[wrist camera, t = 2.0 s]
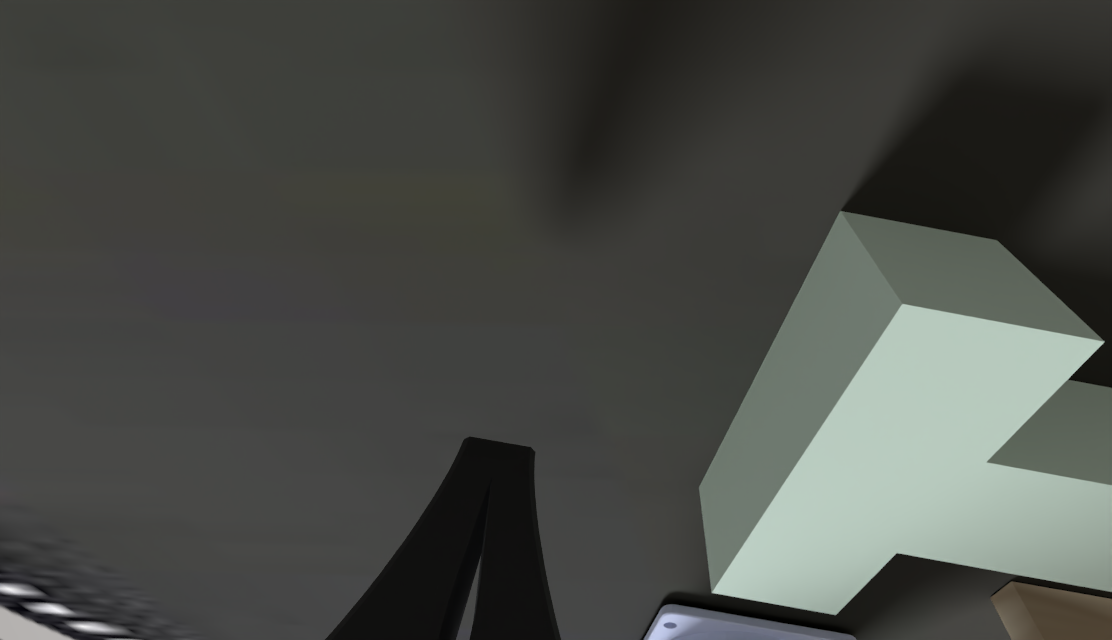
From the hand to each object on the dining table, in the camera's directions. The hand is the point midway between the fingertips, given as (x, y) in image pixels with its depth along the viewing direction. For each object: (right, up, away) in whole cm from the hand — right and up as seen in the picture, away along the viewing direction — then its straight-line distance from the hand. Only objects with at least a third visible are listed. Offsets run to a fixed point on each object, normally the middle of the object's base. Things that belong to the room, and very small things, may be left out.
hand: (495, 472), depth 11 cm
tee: (+11, +1, +4) cm, 12 cm away
